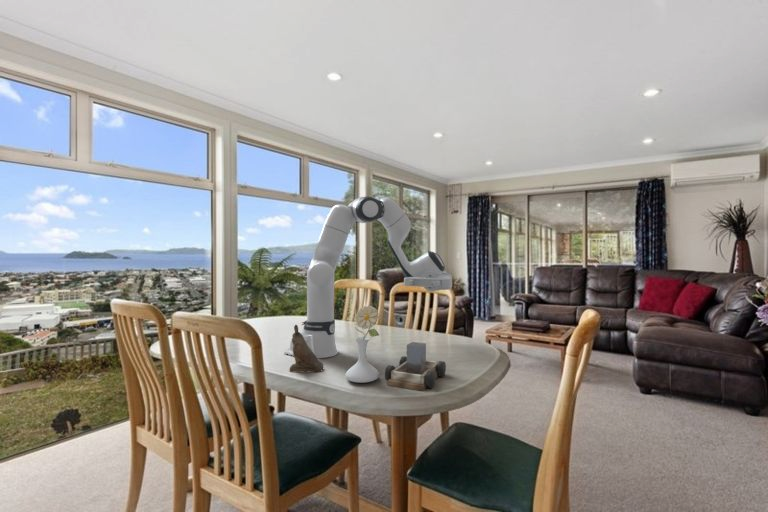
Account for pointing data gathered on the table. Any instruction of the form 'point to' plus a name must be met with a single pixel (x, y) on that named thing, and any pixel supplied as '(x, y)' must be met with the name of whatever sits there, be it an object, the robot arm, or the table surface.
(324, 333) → the robot arm
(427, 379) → the chassis
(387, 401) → the table surface
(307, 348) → the brown carved statuette
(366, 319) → the flower in vase
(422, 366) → the block
